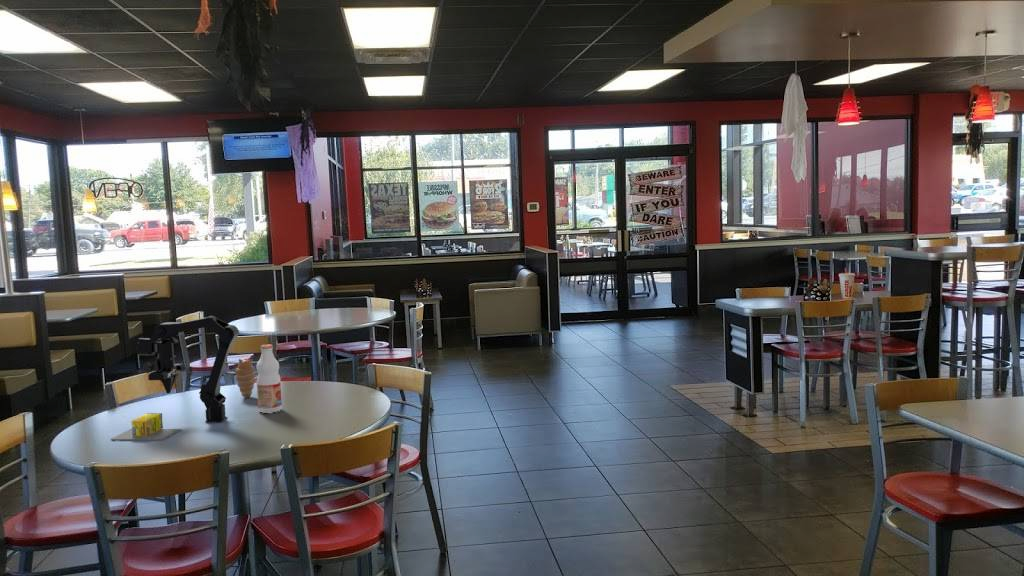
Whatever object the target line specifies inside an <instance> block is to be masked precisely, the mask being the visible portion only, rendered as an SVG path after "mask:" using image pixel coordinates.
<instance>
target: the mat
mask: <svg viewBox="0 0 1024 576" xmlns="http://www.w3.org/2000/svg"><path fill="white" fill-rule="evenodd" d="M178 431H179V432H180V431H182V430H181V428H162V429H160V430H158V431H156V432H154V433H152V434H150V435H148V436H133V434H132V428H130V429H128V430H125V431H124V432H122V433H120V434H118V435H116V436H114V437H112V438H110V441H111V440H131V441H132V442H133V441H136V442H137V441H142V442H143V441H147V442H148V441H149V442H150V441H154V442H155V441H158V442H159V441H162V442H163V441H165V440H166V439H168V438H170V437H172V436H174V435H175V434H177V433H178ZM173 434H174V435H173Z"/></svg>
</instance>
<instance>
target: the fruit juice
mask: <svg viewBox="0 0 1024 576" xmlns="http://www.w3.org/2000/svg"><path fill="white" fill-rule="evenodd" d="M273 349H274V345H273V344H269V343H268V344H262V345H260V351H261V354H260V358H259V360H258V361H257V363H256V371H257V376H256V388H257V389H256V392H257V405H258V406H257V409H258V413H260V412H263V413H267V412H275V411H278V410H280V409H283V404H282V387H281V376H280V373H279V369H280V363H279V361H278V360H277V359H276V358H275V355H274V351H273ZM263 413H262V414H263Z"/></svg>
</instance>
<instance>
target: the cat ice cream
mask: <svg viewBox="0 0 1024 576" xmlns="http://www.w3.org/2000/svg"><path fill="white" fill-rule="evenodd" d="M238 363H239V364H238V365H237V368H235V370H234V375H236V376H235V380H236V382H237V387H238V388H239V391H240V393H241V396H242V397H243V398H245V399H248V398H250V397H251V396H252V394H253V389H254V387H255V385H254V384H255V383H256V373H255V372H256V371H255V367H254V365H253V363H252V361H251V357H248V358H247V359H240V358H238Z"/></svg>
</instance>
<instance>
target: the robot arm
mask: <svg viewBox="0 0 1024 576" xmlns="http://www.w3.org/2000/svg"><path fill="white" fill-rule="evenodd" d="M204 328H208V329H210V330H211V331H212V332H213V333H214V334H216V335H217V336H218V348H217V352H216V356H215V359H214V362H213V366H212V369H211V371H210V375H209V377H208V378H209V379H208V380H206V381H205V382H203V383H201V387H200V391H199V392H198V394H199V399H200V401H201V402H202V403H203V404H204V406H205V408H206V409H204V410H205V419H206V420H205V423H222V422H223V420H224V421H225V420H227V419H228V416H226V405H225V404H224V403H226V396H225V395H223V394H222V393H221V380H222V376H223V372H224V370H225V366H226V362H227V361H228V357H229V353H230V350H231V348H232V346H233V345H234V343H235V341H236V340H237V338H238V336H239V334H240V330H239V328H238V327H237V326H236V325H234V324H229V323H227V322H226V321H223V320H221V319H220V318H218V317H216V316H214V315H209V316H207V317H202V318H197V319H192V320H186V321H182V322H179V321H178V322H176V321H174V322H173V321H166V322H163V323H160V324H157V325H156V326H155V327H154V329H153V330H154V331H153V334H152V335H151V337H150V338H147V337H145V338H144V337H140V338H137V343H136V347H135V352H136V355H137V356H155V354H156V353H157V357H156V358H155V359H154V360H155V361H154V362H152V363H150V361H149V362H145V363H143V364H142V371H143V372H144V373H146V375H147V381H160V382H161V383H162V386H163V387H164V390H165V392H166V394H170V393H171V392H172V390H173V387H174V385H175V382H176V381H177V378H178V376H179V373H176V371H180V372H184V371H186V365H185V364H184V363H175V359H177V355H174V353H175V352H174V344H176V343H178V342H179V339H177V338H176V337H175V336H174V335H177V334H179V333H183V332H184V333H185V332H188V331H193V330H199V329H204ZM171 336H172V337H171ZM169 337H170V338H169ZM160 340H161V341H160ZM226 418H227V419H226ZM221 421H222V422H221Z"/></svg>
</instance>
